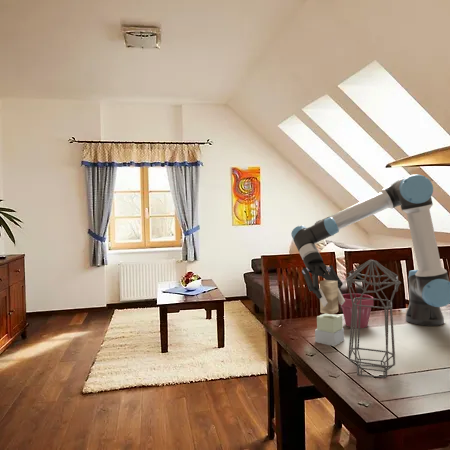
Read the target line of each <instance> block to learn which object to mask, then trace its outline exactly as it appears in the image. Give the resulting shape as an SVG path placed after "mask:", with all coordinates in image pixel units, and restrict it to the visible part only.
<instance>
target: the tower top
mask: <svg viewBox="0 0 450 450" xmlns="http://www.w3.org/2000/svg"><path fill="white" fill-rule="evenodd" d="M343 328H344V327H343V315H341V314H336V313H335V314H326V313H321V314H320V315H317V316H316V329H317V330H322V331H327V332H331V333H335V332H337V331H339V330H341V329H343Z"/></svg>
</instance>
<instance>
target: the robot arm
mask: <svg viewBox="0 0 450 450" xmlns="http://www.w3.org/2000/svg"><path fill="white" fill-rule="evenodd" d="M433 193H434V186H433V183H432V181H431V180H430V178H428V177H426V176H425V175H423V174H418V173H417V174H410V175H407V176H404V177H402V178H399V179H398V180H397V181H395V182H393V183H391V184H390V185H388V186H386V187H384V188H383V189H381V191H380V192H378V193H377V194H374V195H373V196H370V197H368V198H366V199H363V200H362V201H359V202H357V203H355V204H353V205H350V206H348V207H347V208H345V209H343V210H340V211H338V212H335V213H334V214H331V215H329V216H326V217H325V218H323V219H319V220H317V221H316V222H315V223H314V224H313V225H311V226H309V227H306V226H305V225H298V226H296V227H294V228H293V229H292V230H291V237H292V240H293V243H294V245H295V247H296V249H297V251H298V253H299V255H300V257H301V259H302V261H303V264H304V265H305V267H303V268H302V270H301V274H302V275H303V278H304V279H305V282H306V286H307V289H308V292H312V293H313V294H315V296H316V298H317V299H319V302H320V301H321V303H322V305H323V307H325V306H326V305H327V303H328V302H327V300H326V298H325V296H324V294H323V292H322V290H321V288H320V285H319V277H321V278H323V279H324V280H332V281H338V304H339V303H340V304H341V305H343V303H344V302H345V299H344V298H343V296H342V295H343V294H344V293H343V291H342V286H343V285H344V283H343V282H342V280H341V278H340V277H339V276H338V273H337V272H336V271H335V269H334V266H333V265H329V266H328V265H326V264H325V263H324V260H323V257H322V255H321V254H320V251H319V249H318V247H317V246H316V243H317V244H318V243H319V242H322V241H324V240H325V239H327V238H329V237H332V236H334V235H336V234H337V233H339V231H340V230H341V229H344V228H347V227H349V226H350V225H353V224H355V223H357V222H359V221H363V220H364V219H366V218H368V217H371V216H372V215H375V214H378V213H379V212H382V211H385V210H386V209H395V208H396V207H399V206H400V209H401V211H402V212H403V213H405V214H406V217H407V218H406V219H407V222H408V227H409V231H410V233H409V234H410V236H411V240H412V241H411V242H412V247H413V250H414V254H415V255H414V256H415V260H416V265H417V268H418V269H413V270H409V271H408V297H409V304H408V307H407V310H406V312H405V321H406V322H408V323H410V324H414V325H420V326H428V327H429V326H432V327H434V326H441V325H444V323H445V317H444V315H443V312H442V309H441V308H442V307H446V306H448V305H450V279H449V274H448V271H447V269H445V268H443V266H442V262H441V258H440V252H439V248H438V243H437V239H436V234H435V230H434V224H433V219H432V215H431V211H430V210H431V208H432V207H433V205H434V204H433V200H432V199H433V198H432V196H433ZM310 274H311V275H310ZM340 304H339V305H340ZM341 305H340V306H341Z"/></svg>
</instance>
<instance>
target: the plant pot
mask: <svg viewBox="0 0 450 450" xmlns="http://www.w3.org/2000/svg"><path fill="white" fill-rule="evenodd" d="M361 294H362V293H355V295H356V297H357V298H360V296H361ZM355 295H354V293H352V298H353V299H354V298H356V297H355ZM342 296H343V298H344V299H345V302H344V303H343V305H341V304H340V303H339V302H338V305H339V306H340V307H341V310H342V314H343V315H342V316H343V319H344V322H345V325H346V326H347V327H348V328H351V317H352V301H351V296H350V293H343V295H342ZM361 298H372V299H374V297H373V296H371V295H369V294H366V293H364V294H363V296H362V297H361ZM357 301H358V299H357V300H356V302H357ZM374 302H375V300H371V299H362V300H361V305H366V306H374V305H375V304H374ZM354 303H355V300H354ZM357 305H360V300H359V301H358V302H357ZM371 310H372V307H364V306H361V319H360V329H365V328H368V325H369V320H370V316H371V313H372V311H371ZM353 318H354V315H353ZM358 324H359V306H357V329H358ZM352 329H353V327H352ZM354 329H355V327H354Z"/></svg>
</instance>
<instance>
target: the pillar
mask: <svg viewBox="0 0 450 450" xmlns="http://www.w3.org/2000/svg"><path fill="white" fill-rule="evenodd" d="M320 288H321V290H322V292H323V294H324V296H325V298H326V300H327V302H328V303H327V305H326V306H325V307H323V305H322V303H321V301H320V300H319V306H320V307H319V308H320V309H319V310H320V313H321V314H325V313H326V314H335V315H336V314H337V313H338V312H339V301H338V281H332V280H326V279H324V280H320V281H319V289H320Z"/></svg>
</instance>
